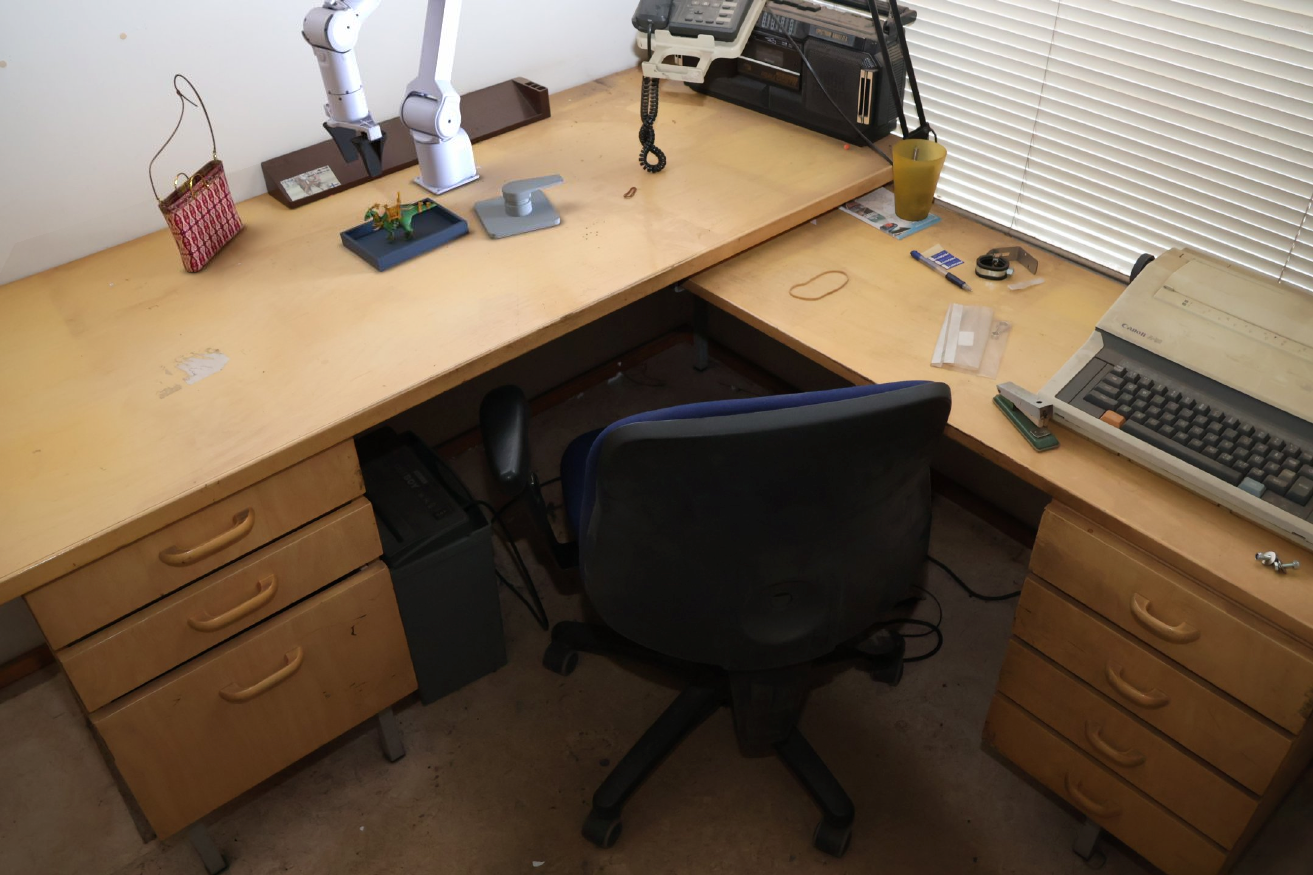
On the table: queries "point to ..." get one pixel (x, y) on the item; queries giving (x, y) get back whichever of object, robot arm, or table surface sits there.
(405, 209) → the figurine
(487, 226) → the shower valve
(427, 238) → the tray
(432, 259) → the table surface
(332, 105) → the robot arm
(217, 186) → the handbag
